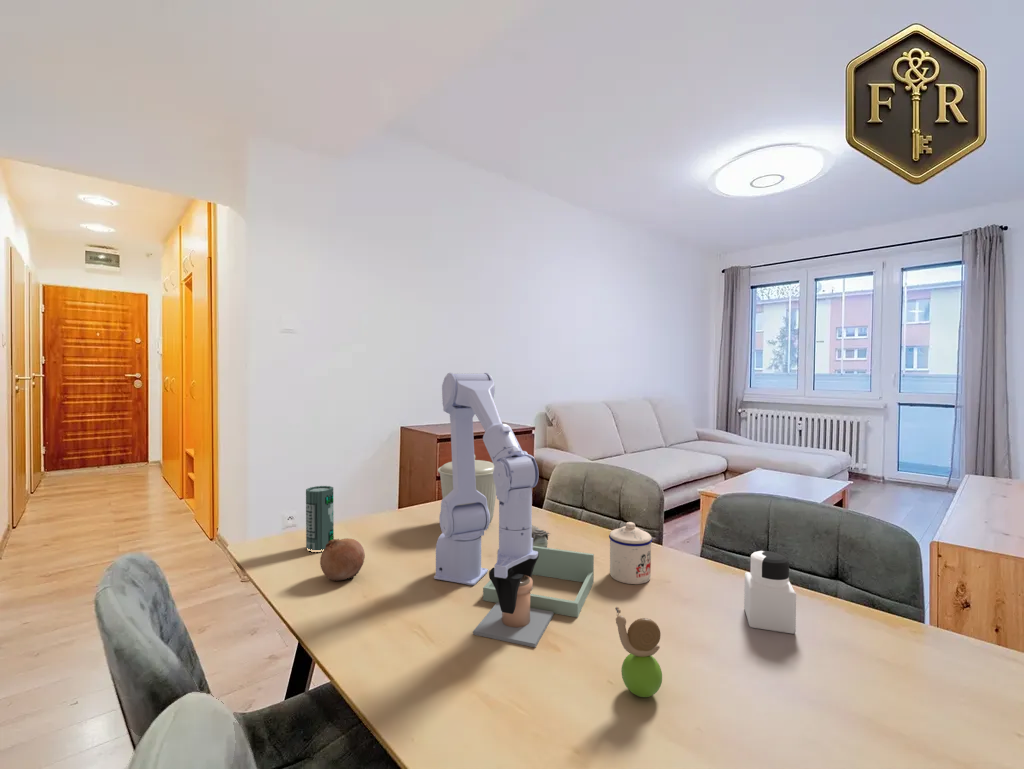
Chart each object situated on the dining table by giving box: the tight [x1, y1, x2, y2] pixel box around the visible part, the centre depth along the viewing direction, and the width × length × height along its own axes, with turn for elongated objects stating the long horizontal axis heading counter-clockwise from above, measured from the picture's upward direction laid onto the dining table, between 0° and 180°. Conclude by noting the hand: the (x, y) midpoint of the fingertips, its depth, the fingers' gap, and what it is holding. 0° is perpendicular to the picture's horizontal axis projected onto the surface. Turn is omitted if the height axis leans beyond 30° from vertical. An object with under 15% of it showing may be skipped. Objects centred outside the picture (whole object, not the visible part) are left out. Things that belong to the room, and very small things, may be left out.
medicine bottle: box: [743, 550, 797, 635], centre depth 85 cm, size 7×7×12 cm
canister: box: [437, 453, 497, 524], centre depth 138 cm, size 18×18×21 cm
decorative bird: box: [532, 525, 551, 548], centre depth 117 cm, size 6×17×8 cm, turn 25°
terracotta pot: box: [502, 574, 534, 627], centre depth 84 cm, size 6×6×7 cm
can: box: [305, 485, 335, 550], centre depth 120 cm, size 6×6×15 cm
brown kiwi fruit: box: [319, 537, 366, 582], centre depth 103 cm, size 9×9×10 cm
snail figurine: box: [615, 606, 663, 698], centre depth 66 cm, size 5×6×12 cm
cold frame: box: [482, 546, 595, 619], centre depth 97 cm, size 19×16×6 cm
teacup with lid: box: [608, 521, 653, 585], centre depth 105 cm, size 12×9×12 cm
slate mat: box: [472, 602, 555, 648], centre depth 84 cm, size 11×11×1 cm
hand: (515, 602), depth 84 cm, fingers open, 7 cm apart
